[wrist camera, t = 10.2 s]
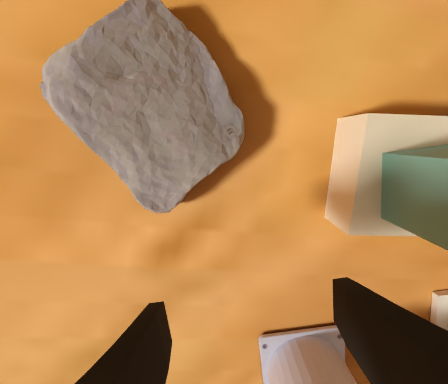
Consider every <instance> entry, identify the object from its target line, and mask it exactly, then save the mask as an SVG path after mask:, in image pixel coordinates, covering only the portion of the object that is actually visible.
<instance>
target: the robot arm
mask: <svg viewBox="0 0 448 384" xmlns="http://www.w3.org/2000/svg"><path fill="white" fill-rule="evenodd" d="M333 311H334V322H335V324H336V325H332V326H324V327H317V328H309V329H302V330H294V331H287V332H279V333H271V334H264V335H261V336H260V337H259V347H260V356H261V365H262V374H263V383H264V384H357V383H356V381H355V379H354V378H353V376H352V374H351V372H350V371H349V369H348V367H347V365H346V364H345V344H346V346H347V347H348V349H349V350H350V352H351V354H352V355H353V357H354V358H355V360H356V361H357V363H358V365H359V366H360V368H361V369H362V371H363V372H364V374H365V375H366V377H367V378H368V380H369V381H370V383H371V384H448V330H446V329H444V328H441V327H439V326H437V325H435V324H433V323H431V322H429V321H427V320H425V319H423V318H421V317H419V316H417V315H415V314H413V313H411V312H410V311H408V310H406V309H404V308H402V307H400V306H398V305H396V304H395V303H393V302H391V301H389V300H387V299H386V298H384V297H382V296H380V295H378V294H377V293H375V292H373V291H371V290H370V289H368V288H366V287H364V286H362V285H361V284H359V283H357V282H355V281H353V280H351V279H349V278H347V277H346V278H339V279H333ZM339 334H340V335H339ZM264 344H266V345H264ZM171 347H172V338H171V334H170V329H169V324H168V320H167V315H166V310H165V306H164V301H163V302H156V303H149V304H148V305H147V306H146V308H145V309H144V310H143V311H142V312H141V313H140V315H139V316H138V317H137V318H136V319H135V320H134V322H133V323H132V324H131V325H130V326H129V327H128V328H127V330H126V331H125V332H124V333H123V334H122V335H121V336H120V338H119V339H118V340H117V341H116V342H115V343H114V344H113V345H112V346H111V347H110V348H109V350H108V351H107V352H106V353H105V354H104V355H103V356H102V357H101V358H100V359H99V360H98V361H97V362H96V363H95V364H94V365H93V366H92V367H91V368H90V369H89V370H88V371H87V372H86V373H85V374H84V375H83V376H82V377H81V378H80V379H79V380H78V381H77V382H76V383H75V384H165V383H166V378H167V374H168V370H169V363H170V356H171Z"/></svg>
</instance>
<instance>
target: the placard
mask: <svg viewBox="0 0 448 384" xmlns="http://www.w3.org/2000/svg"><path fill="white" fill-rule="evenodd" d="M430 322H431V323H433V324H435V325H437V326H439V327H441V328H444V329H446V330H448V290H442V291H435V292H432V303H431V314H430Z"/></svg>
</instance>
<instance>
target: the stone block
mask: <svg viewBox="0 0 448 384" xmlns="http://www.w3.org/2000/svg"><path fill="white" fill-rule="evenodd" d="M42 78H43V82H42V83H40V87H41V90H42V96H43V97H44V98H45V100H46V101H47V102H48V104H49V105H50V106H51V108H52V109H53V111H54V112H55V113H56V114H57V116H58V117H59V118H60V119H61V120H62V121H63V122H64V123H65V124H66V125H67V126H68V127H69V128H70V129H71V130H72V131H73V132H74V133H75V134H76V135H77V136H78V137H79V138H80V139H81V140H82V141H83V142H84V143H85V144H86V145H87V146H88V147H89V148H90V149H91V150H92V151H94V152H95V153H96V154H97V155H98V156H100V157H101V158H102V159H103V160H104V161H105V162H106V163H107V164H108V165H109V166H110V167H111V168H112V169H113V170H114V171H115V172H116V173H117V174H118V176H119V177H120V178H121V180H122V181H123V182H124V183H125V184H127V186H128V187H129V189H130V191H131V192H132V194H133V196H134V197H135V199H136V200H137V201H138V202H139V203H140V204H141V205H142V206H143V207H144V208H145V209H147V210H150V211H152V212H155V213H166V212H170V211H171V210H172V209H173V208H174V207H175V206H177V205H178V204H179V203H181V202H182V201H183V199H184V198H185V196H186V195H187V193H188V192H189V191H190V190H191V188H193V187H194V186H195V185H196V184H197V183H199V182H200V181H201V180H202V179H204V178H205V177H206V176H207V175H209V174H211V173H212V172H213V171H214V170H216V169H217V168H218V167H219V166H220V165H221V164H223V163H225V162H227V161H229V160H231V159H232V158H233V157H234V156H235V155H236V154H237V153H238V150H239V148H240V145H241V144H242V143H243V141H244V117H243V115H242V113H241V110H240V109H239V108H238V107H237V106H236V105H235V104H234V102H233V100H232V98H231V96H230V94H229V91H228V88H227V84H226V82H225V80H224V78H223V76H222V74H221V72H220V69H219V67H218V66H217V64H216V63H215V61H214V60H213V58H212V56H211V54H210V53H209V51H208V50H207V48H206V46H205V45H204V44H203V42H202V41H201V40H200V39H199V38H198V37H197V36H196V35H194V34H193V33H192V32H191V31H189V30H187V28H186V26H185V25H184V24H183V22H182V21H180V20H179V19H177V18H176V17H175V16H174V15H173V14H172V13H171V12H170V10H169V9H168V8H167V7H166V6H165V5H164V4H163V2H161V1H159V0H128V1H126V2H124V3H123V4H122V5H121V6H119V8H118V9H116V10H114V11H113V12H111V13H109V14H108V15H106V16H104V17H103V18H101V19H100V20H98V21H97V22H96V23H94V24H93V25H92V26H90V27H88V28H87V29H86V31H85V32H84V33H83V34H82V35H81V36H80V37H79V38H78V39H77V40H75V41H73V42H71V43H69V44H67V45H65V46H64V47H62V48H60V49H59V50H57V51H56V52H55V53H54V54H52V55H51V56H50V57H49V59H48V60H47V62H46V63H45V64H44V65H43V68H42Z"/></svg>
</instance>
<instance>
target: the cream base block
mask: <svg viewBox="0 0 448 384" xmlns="http://www.w3.org/2000/svg"><path fill="white" fill-rule="evenodd" d="M445 144H448V116H432V115H404V114H377V113H366V114H361V115H355V116H349V117H343V118H338V119H337V127H336V135H335V142H334V150H333V157H332V165H331V172H330V180H329V187H328V195H327V202H326V210H325V217H324V218H326V219H327V220H329V221H330V222H331V223H333V224H334V225H335V226H337V227H338V228H340V229H341V230H342V231H344V232H345V233H346V234H348V235H372V236H417V235H415V234H413V233H411V232H409V231H407V230H405V229H403V228H401V227H398V226H396V225H394V224H392V223H390V222H388V221H386V220H384V219H382V218H381V192H382V153H387V152H394V151H401V150H409V149H416V148H423V147H430V146H438V145H445Z"/></svg>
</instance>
